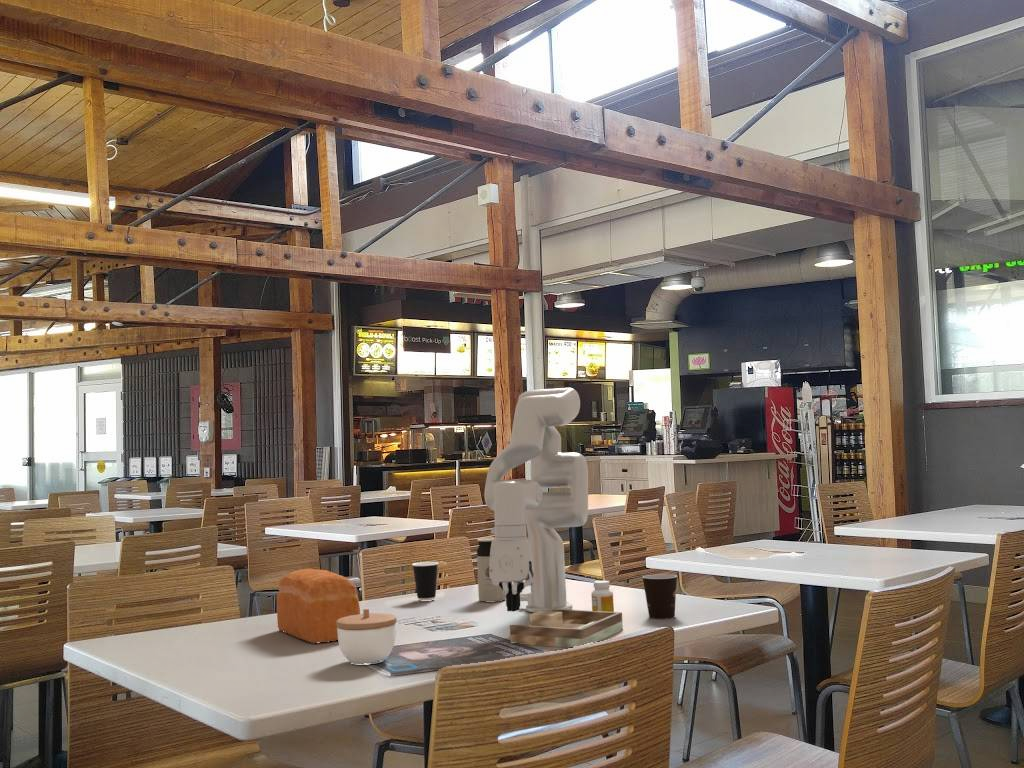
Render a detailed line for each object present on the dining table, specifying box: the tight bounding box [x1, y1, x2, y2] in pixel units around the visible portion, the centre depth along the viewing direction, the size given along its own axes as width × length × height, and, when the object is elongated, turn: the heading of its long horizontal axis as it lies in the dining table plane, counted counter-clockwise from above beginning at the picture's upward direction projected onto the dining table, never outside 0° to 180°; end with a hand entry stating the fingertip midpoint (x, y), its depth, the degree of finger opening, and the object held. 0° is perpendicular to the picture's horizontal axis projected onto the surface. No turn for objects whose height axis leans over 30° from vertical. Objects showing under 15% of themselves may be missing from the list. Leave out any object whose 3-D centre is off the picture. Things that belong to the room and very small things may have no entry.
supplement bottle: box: [591, 580, 615, 612], centre depth 232 cm, size 5×5×10 cm
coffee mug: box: [642, 573, 678, 620], centre depth 236 cm, size 12×9×10 cm
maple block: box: [529, 611, 563, 627], centre depth 218 cm, size 6×5×3 cm
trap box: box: [509, 609, 624, 649], centre depth 215 cm, size 18×22×4 cm
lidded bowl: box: [336, 608, 397, 664], centre depth 197 cm, size 13×13×11 cm
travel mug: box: [476, 536, 506, 602], centre depth 273 cm, size 8×8×18 cm
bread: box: [276, 568, 361, 644], centre depth 232 cm, size 14×26×16 cm, turn 33°
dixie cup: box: [411, 561, 439, 601], centre depth 278 cm, size 8×8×11 cm
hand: (513, 610), depth 221 cm, fingers closed
